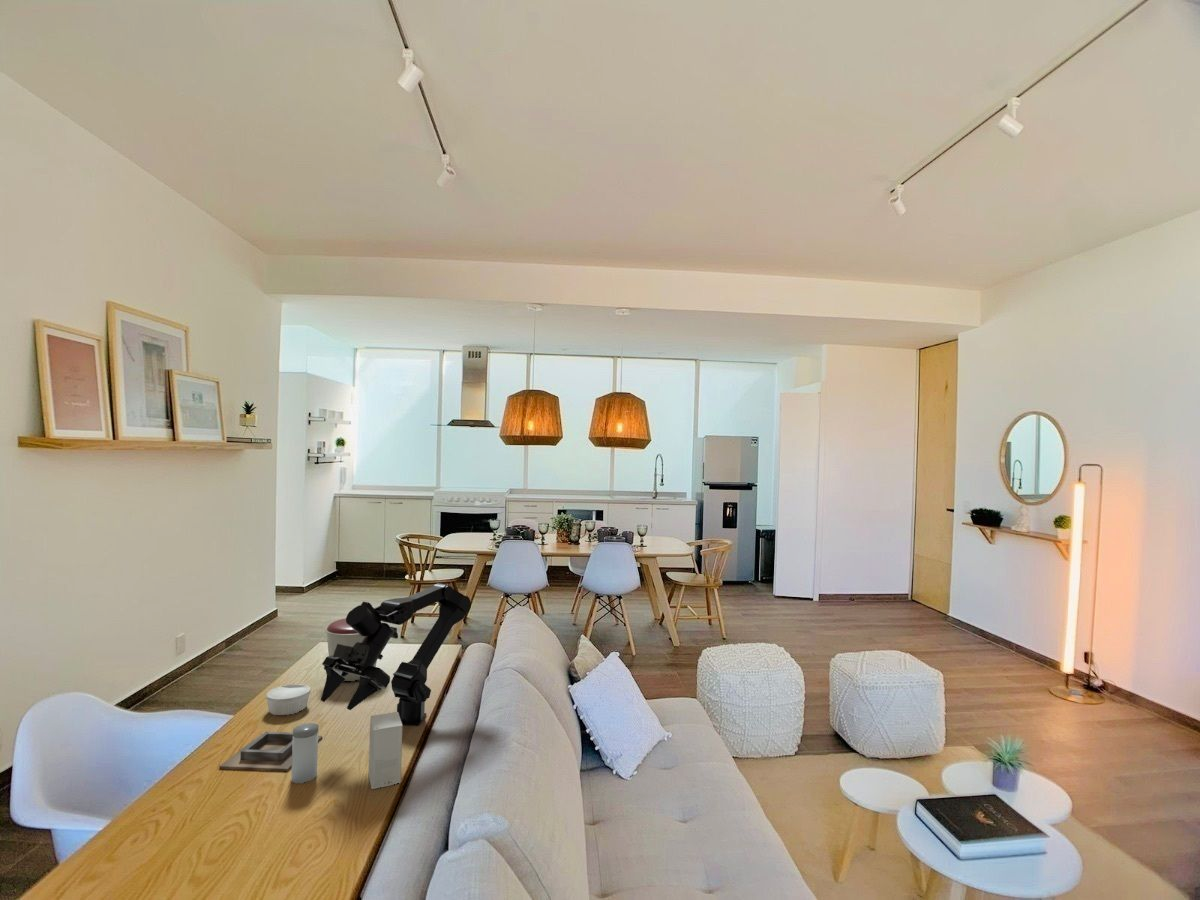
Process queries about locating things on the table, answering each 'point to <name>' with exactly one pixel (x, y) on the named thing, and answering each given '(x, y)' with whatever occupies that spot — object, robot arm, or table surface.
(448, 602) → the robot arm
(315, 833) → the table surface
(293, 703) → the ramekin
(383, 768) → the small box
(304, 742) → the grey cylinder
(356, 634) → the canister
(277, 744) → the jig board
